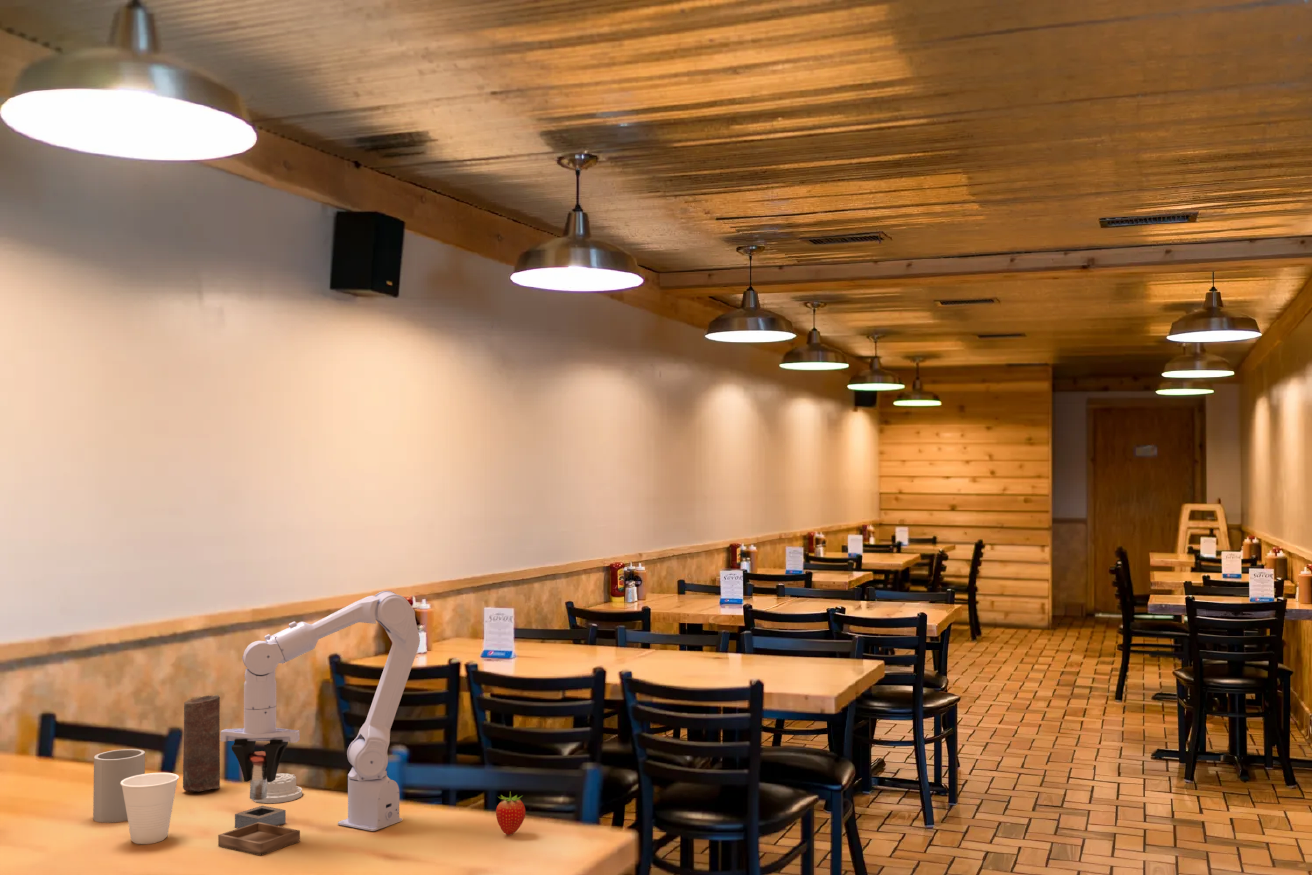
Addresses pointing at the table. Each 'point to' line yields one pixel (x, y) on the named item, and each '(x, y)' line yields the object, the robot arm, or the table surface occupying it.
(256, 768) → the spice jar
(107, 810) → the cup
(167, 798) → the cup
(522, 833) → the table surface
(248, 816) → the block
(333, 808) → the table surface
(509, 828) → the fruit
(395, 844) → the table surface
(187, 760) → the candle
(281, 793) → the white rounded piece
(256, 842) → the tray
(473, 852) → the table surface
